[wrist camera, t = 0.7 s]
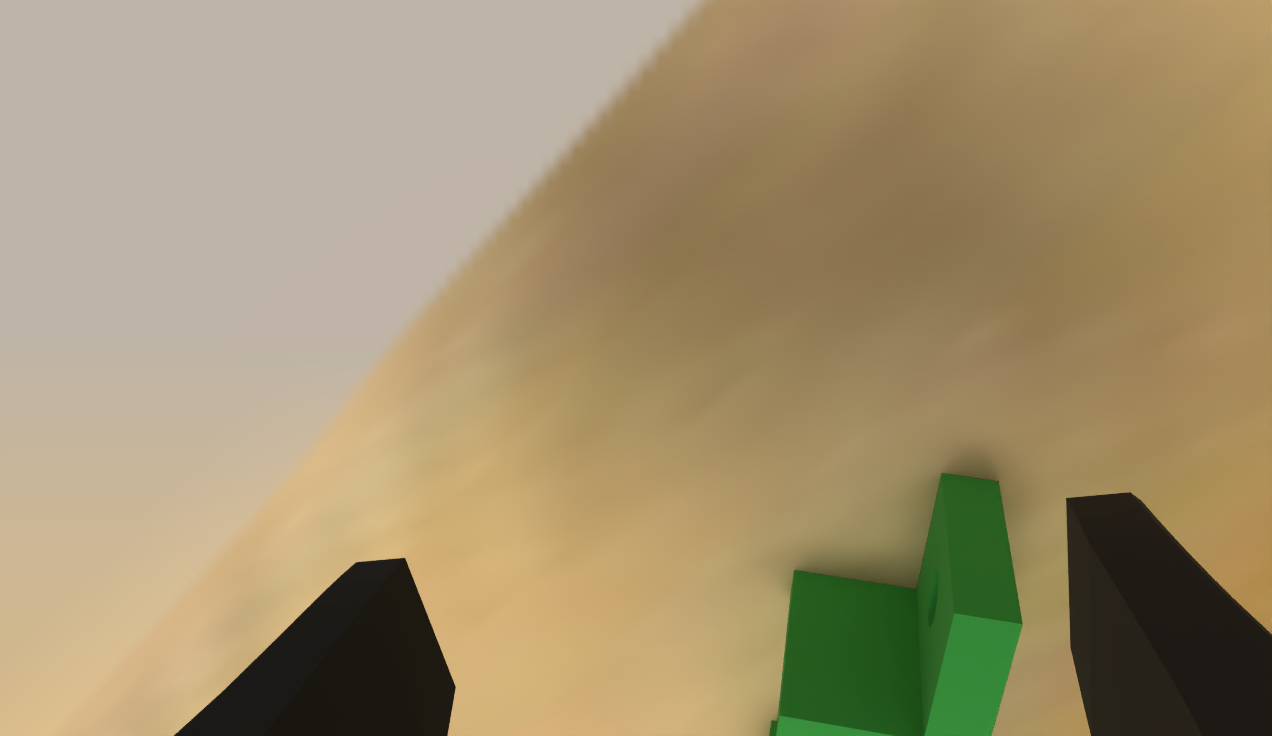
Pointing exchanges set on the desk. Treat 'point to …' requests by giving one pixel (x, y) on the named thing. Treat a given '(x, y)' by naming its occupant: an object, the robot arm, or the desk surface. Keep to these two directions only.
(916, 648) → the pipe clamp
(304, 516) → the desk surface
